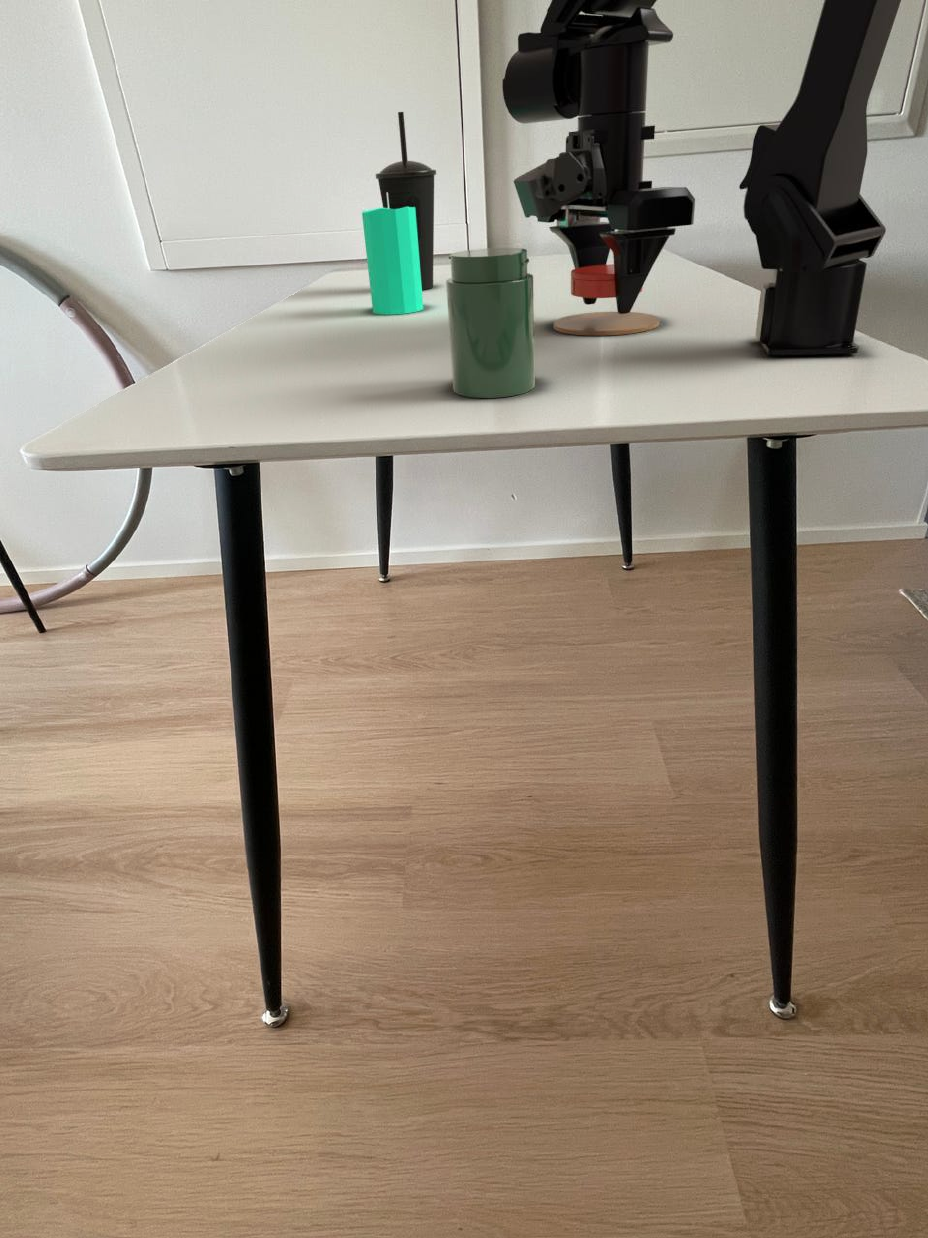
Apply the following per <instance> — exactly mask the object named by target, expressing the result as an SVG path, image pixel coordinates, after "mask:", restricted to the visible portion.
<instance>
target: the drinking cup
mask: <svg viewBox="0 0 928 1238" xmlns="http://www.w3.org/2000/svg"><path fill="white" fill-rule="evenodd" d="M404 112H405V111H398V112H397V117H398V127H399V129H398V130H399V141H400V151H401V161H395V162H393V163H391V164H388V165H387V166H385V167H383V169H381V171H380V172H377V173H375V179H376V180H377V181H378V187H379V192H380V198H381V205H382V207H383V208H388V204H387V194H386V193H387V192H388V201H389V209H399V208H404V207H415V211H416V224H417V236H418V248H419V260H420V273H421V285H422V291H425V290H430V289H433V288H434V249H435V247H434V246H435V245H434V240H435V239H434V238H435V237H434V236H435V235H434V234H435V176H436V175H437V170H436V169H432V168H431V167H430V166H428V165H427V164H425V163H422V162H419V161H416V160H415V161H414V160H408V149H407V137H406V126H405V113H404Z"/></svg>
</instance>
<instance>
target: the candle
mask: <svg viewBox="0 0 928 1238" xmlns="http://www.w3.org/2000/svg"><path fill="white" fill-rule="evenodd" d="M386 194H387V204H388V208H383V206H382V207H377V208H372V209H367V210H362V211H361V216H362V217H361V218H362V224H363V225H362V226H363V227H362V228H363V235H364V236H363V237H364V243H365V245H364V246H365V253H366V261H367V270H368V279H369V289H370V297H371V298H370V299H371V308H372V313H373V314H376V315H389V316H390V315H403V314H411V313H417V312H419V311H422V310H424V298H423V297H424V296H423V290H422V285H421V273H420V260H419V248H418V236H417V224H416V211H415V207H404V208H399V209H389V201H388V192H387V193H386Z"/></svg>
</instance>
